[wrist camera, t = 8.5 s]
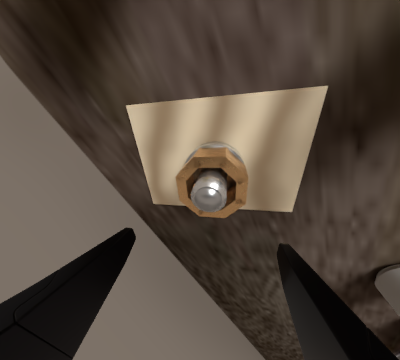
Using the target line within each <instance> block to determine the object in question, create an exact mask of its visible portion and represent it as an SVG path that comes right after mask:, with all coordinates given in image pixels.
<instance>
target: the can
mask: <svg viewBox="0 0 400 360" xmlns="http://www.w3.org/2000/svg"><path fill="white" fill-rule="evenodd" d="M375 286H376V288H377V289H378V290H379V292H380V293H381V294H382V295H383V297H384V298H385V299H386V300H387V302H388V303H389V304H390V305H391V307H392V308H393V309H394V310H395V312H396V313H397V314H398V315H399V317H400V264H398V265H393V266H389V267H387V268H384V269H382V270H381V271H380V272H378V274H377V276H376V280H375Z"/></svg>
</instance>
